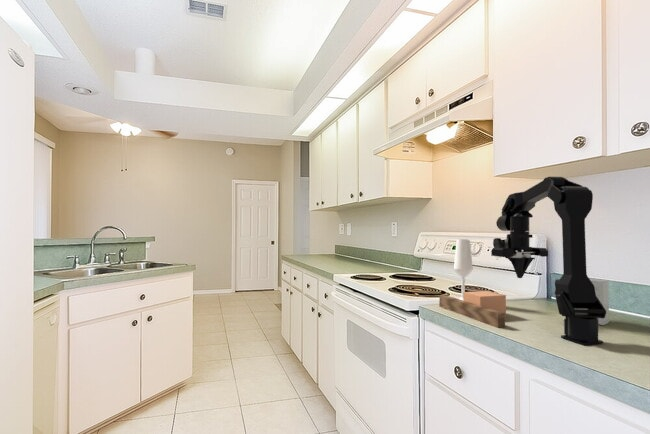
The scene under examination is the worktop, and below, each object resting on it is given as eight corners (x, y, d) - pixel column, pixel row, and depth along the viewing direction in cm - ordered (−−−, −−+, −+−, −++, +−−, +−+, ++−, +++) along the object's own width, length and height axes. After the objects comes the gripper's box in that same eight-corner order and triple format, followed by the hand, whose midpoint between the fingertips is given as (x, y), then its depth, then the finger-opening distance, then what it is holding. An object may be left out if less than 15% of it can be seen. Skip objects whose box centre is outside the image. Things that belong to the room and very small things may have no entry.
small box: (609, 322, 110) (609, 279, 110) (603, 325, 106) (603, 281, 106) (578, 317, 116) (578, 276, 116) (571, 320, 112) (571, 278, 112)
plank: (504, 327, 102) (504, 313, 103) (498, 327, 102) (498, 313, 102) (445, 306, 129) (445, 295, 129) (439, 306, 129) (439, 295, 129)
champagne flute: (474, 304, 132) (474, 240, 133) (454, 303, 134) (455, 239, 134) (470, 301, 139) (471, 239, 139) (452, 300, 140) (452, 239, 141)
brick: (505, 317, 115) (505, 295, 115) (480, 319, 112) (480, 296, 112) (487, 311, 123) (487, 290, 123) (463, 313, 120) (463, 292, 120)
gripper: (522, 231, 130) (522, 274, 130) (479, 230, 125) (479, 275, 124) (549, 231, 120) (549, 278, 119) (504, 231, 114) (504, 280, 114)
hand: (519, 278), depth 119 cm, fingers closed
